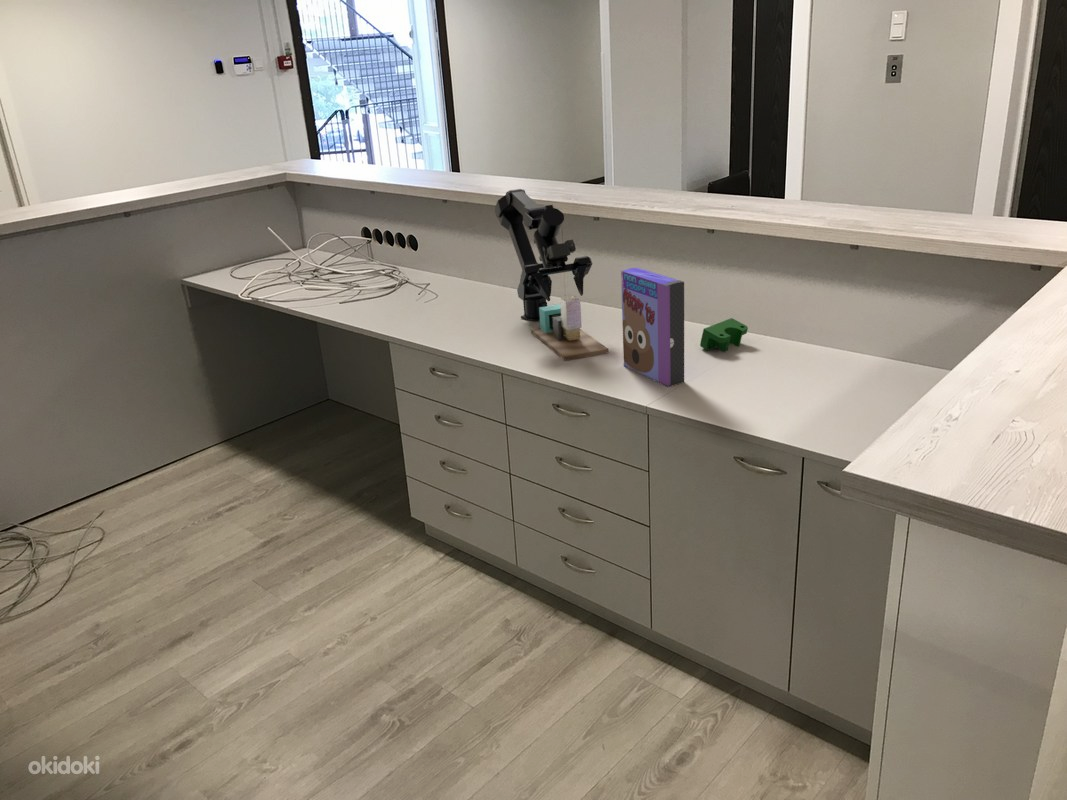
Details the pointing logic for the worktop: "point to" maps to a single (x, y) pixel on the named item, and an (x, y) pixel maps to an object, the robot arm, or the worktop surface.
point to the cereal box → (653, 325)
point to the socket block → (545, 314)
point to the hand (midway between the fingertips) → (565, 297)
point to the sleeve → (557, 328)
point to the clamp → (723, 334)
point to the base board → (571, 345)
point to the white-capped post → (569, 317)
